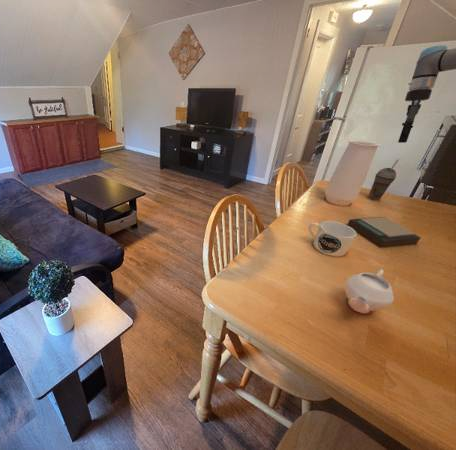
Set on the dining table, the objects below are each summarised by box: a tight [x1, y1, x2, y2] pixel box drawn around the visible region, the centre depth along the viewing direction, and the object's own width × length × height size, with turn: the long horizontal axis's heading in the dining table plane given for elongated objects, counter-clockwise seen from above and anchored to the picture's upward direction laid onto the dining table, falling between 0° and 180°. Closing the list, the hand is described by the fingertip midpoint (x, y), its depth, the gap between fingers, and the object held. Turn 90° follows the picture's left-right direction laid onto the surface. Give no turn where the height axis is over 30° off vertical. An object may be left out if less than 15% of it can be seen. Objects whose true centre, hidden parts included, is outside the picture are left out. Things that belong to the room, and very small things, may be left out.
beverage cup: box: [367, 158, 399, 202], centre depth 115 cm, size 7×7×20 cm
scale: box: [346, 216, 421, 249], centre depth 93 cm, size 15×15×4 cm
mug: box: [308, 220, 358, 257], centre depth 85 cm, size 13×10×8 cm
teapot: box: [344, 268, 395, 314], centre depth 63 cm, size 10×20×9 cm, turn 129°
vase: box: [324, 138, 382, 207], centre depth 111 cm, size 13×13×28 cm
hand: (402, 142), depth 112 cm, fingers open, 13 cm apart
